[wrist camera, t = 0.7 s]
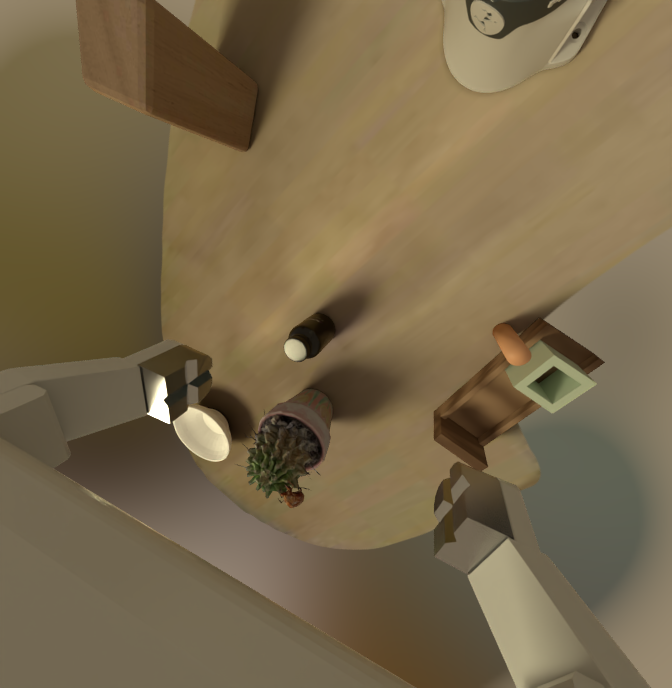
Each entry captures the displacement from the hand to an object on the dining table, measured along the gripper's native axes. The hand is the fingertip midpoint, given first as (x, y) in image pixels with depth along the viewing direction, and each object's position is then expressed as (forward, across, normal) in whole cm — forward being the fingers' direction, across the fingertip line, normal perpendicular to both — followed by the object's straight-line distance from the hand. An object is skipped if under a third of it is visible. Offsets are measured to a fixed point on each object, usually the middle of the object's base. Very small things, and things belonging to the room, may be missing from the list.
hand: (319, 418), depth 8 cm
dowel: (+43, -18, +7) cm, 48 cm away
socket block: (+41, -25, +10) cm, 49 cm away
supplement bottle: (+44, +14, +18) cm, 49 cm away
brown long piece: (+43, -23, +17) cm, 52 cm away
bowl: (+43, +40, +61) cm, 85 cm away
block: (+44, +38, -15) cm, 60 cm away
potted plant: (+43, +12, +40) cm, 60 cm away
